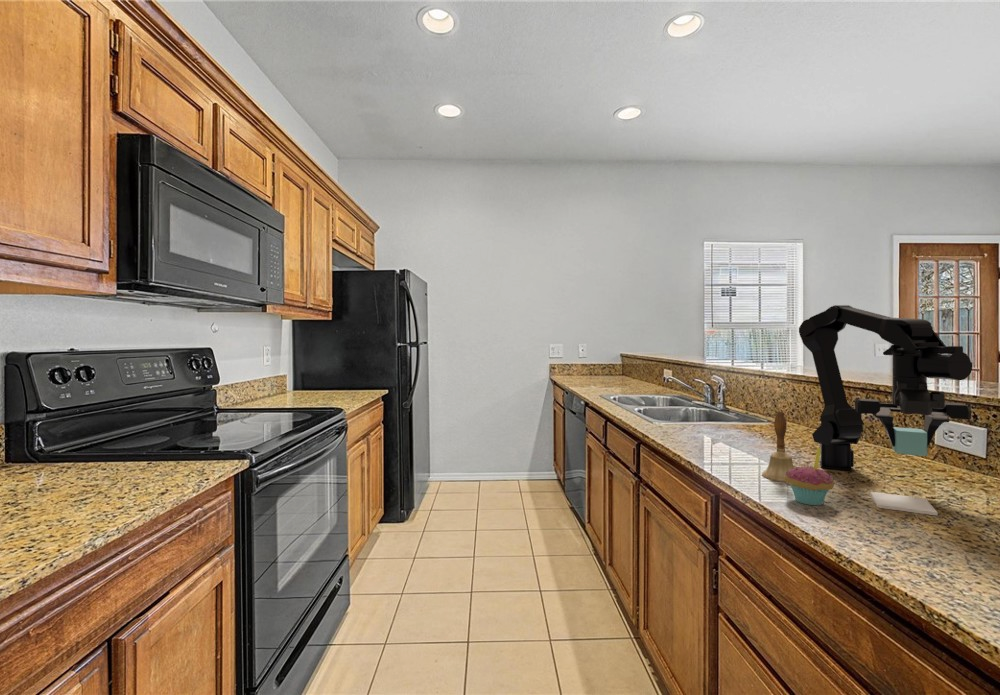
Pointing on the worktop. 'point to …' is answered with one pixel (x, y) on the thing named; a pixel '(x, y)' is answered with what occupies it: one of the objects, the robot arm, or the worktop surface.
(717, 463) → the worktop surface
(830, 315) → the robot arm
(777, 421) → the hand bell
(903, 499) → the tile
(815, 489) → the cupcake
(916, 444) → the cube
